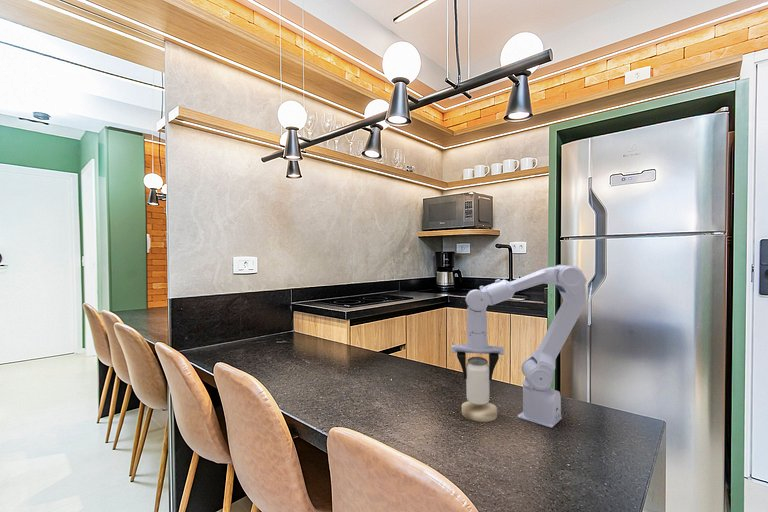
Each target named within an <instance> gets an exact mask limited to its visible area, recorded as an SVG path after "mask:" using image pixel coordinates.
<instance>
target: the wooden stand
mask: <svg viewBox="0 0 768 512" xmlns="http://www.w3.org/2000/svg"><path fill="white" fill-rule="evenodd" d="M461 415H462V416H463V417H464V418H465V419H467V420H469V421H473V422H477V423H480V422H481V423H488V422H489V423H490V422H493V421H495V420H496V419H497V418H498V407H497V406H496V405H495V404H493V403H491V402H488V403H486V404H484V405H475V404H472V403H470V402H469V401H468V400H466V401H465V402H463V403H462V404H461Z"/></svg>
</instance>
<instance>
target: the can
mask: <svg viewBox="0 0 768 512" xmlns="http://www.w3.org/2000/svg"><path fill="white" fill-rule="evenodd" d="M466 375H467V379H465V381H466V382H465V383H466V384H465V385H466V388H465V389H466V392H465V393H466V399H467V400H466V401H469V402H470V403H472V404H475V405H484V404H486V403H488V402H489V401H490V380H489V360H488V359H486V358H484V357H482V356H472V357H469V358H468V359H467V361H466ZM489 403H490V402H489Z"/></svg>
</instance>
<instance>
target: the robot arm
mask: <svg viewBox="0 0 768 512" xmlns="http://www.w3.org/2000/svg"><path fill="white" fill-rule="evenodd" d="M542 284H545V285H551V286H552V285H553V286H554V287H555V288H557V290H558V291H559V294H560V295H561V298H562V303H561V304H560V307H559V308H558V310H557V312H556V314H555V316H554V318H553V319H552V321H551V323H550V325H549V327H548V328H547V331H546V332H545V334H544V336H543V338H542V340H541V341H540V344H539V346H538V348H537V349H535V350H534V351H532V353H531V355H529V357H528V358H527V359H525V360H524V361H523V362H522V364H521V372H522V374H523V375H524V377H525V379H524V380H523V382H522V410H523V411H521V413H519V414H517V418H518V419H522V420H525V421H527V422H531V423H535V424H537V425H542V426H544V427H547V428H551V429H552V428H554V426H556V425H557V424H558V423H559V422H560V421H561V420H562V419H563V417H562V401H561V400H562V398H561V392H560V391H559V390H556V389H554V388H552V386H551V385H552V383H553V381H554V379H553V375H554V372H555V370H556V359H557V357H558V356H559V354H560V353H561V350H562V349H563V346H564V344H565V343H566V341H567V339H568V337H569V335H570V333H571V332H572V329H573V328H574V326H575V325H576V323H577V320H578V319H579V317H580V315H581V313H582V311H583V309H584V308H585V306H586V304H587V294H586V284H587V278H586V277H585V274H584V273H583V271H582V270H581V269H580V268H579V267H578V266H575V265H564V264H557V265H555V266H548V267H545V268H543V269H538V270H537V271H534V272H531V273H530V274H527V275H524V276H521V277H519V278H517V279H513V280H511V281H508V280H507V279H502V280H501V278H498V279H495V280H494V282H493V283H491V284H487V285H485V286H484V285H480V286H479V287H478V288H479V289H476V288H475V289H472V290H471V289H470V290H469V291H468V293H467V294H466V297H465V299H464V300H465V302H466V305H467V309H466V313H467V315H466V344H452V345H451V353H452V354H456V358H457V360H458V362H459V365H460V366H461V370H462V374H463V379H465V380H466V379H467V375H466V364H467V361H466V354H480V355H481V354H482V355H483V354H484V355H488V365H489V381H492V380H493V375H494V370H495V368H496V365H497V364H498V361H499V358H500V356H504V355H505V348H504V347H503V346H496V345H490V344H489V345H488V316H487V307H488V306H494V305H496V304H499V303H501V302H505V301H508V300H510V299H512V298H513V297H514V295H515V293H517V292H519V291H523V290H525V289H529V288H532V287H535V286H539V285H542ZM499 355H500V356H499Z"/></svg>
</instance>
